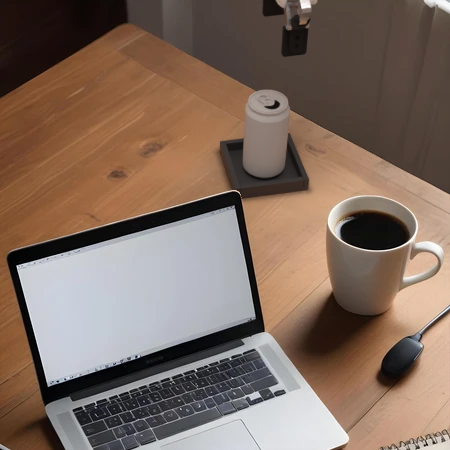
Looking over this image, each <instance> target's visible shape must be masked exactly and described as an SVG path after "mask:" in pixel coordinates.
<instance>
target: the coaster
mask: <svg viewBox="0 0 450 450" xmlns="http://www.w3.org/2000/svg"><path fill="white" fill-rule="evenodd" d="M243 145H244V137H243V138H235V139H234V138H233V139H226V140H219V154H220V157H221V160H222V163H223V166H224V169H225V172H226V175H227V179H228V182H229V185H230V188H231V191H232V190H237V191H239V192H240V194H241V197H242V199H249V198H257V197H265V196H272V195H281V194H286V193H295V192H302V191H308V190H309V183H310V177H309V175H308V173H307V171H306V168H305V165H304V163H303V161H302V159H301V156H300V154H299V152H298V148H297V146H296V144H295V142H294V139H293V137H292V135H291V133H290V132H288V138H287V149H286V159H285V167H284V169H283V171H282V172H281V173H280V174H278V175H276V176H274V177H272V178H258V177H255V176H253V175H251V174H249V173H248V172H247V171H246V170H245V169H244V167H243Z"/></svg>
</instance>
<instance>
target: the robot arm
mask: <svg viewBox="0 0 450 450" xmlns="http://www.w3.org/2000/svg"><path fill="white" fill-rule="evenodd" d="M317 3H318V0H294V1H289V0H262V7H261V8H262V9H261V11H262V12H261V14H262V16H263V17H265V18H266V17H275V16H284V23H285V25H282V32H281V46H280V48H281V49H280V54H281V55H282V57H283V58H288V57H294V56H304V55H306V53H307V49H308V41H309V40H308V39H309V28H310V26H311V25H310V24H311V23H310V22H311V14H312V6H315V5H316V4H317ZM291 9H297V11H296V12H297V14H294V15H293V16H292V12H291Z"/></svg>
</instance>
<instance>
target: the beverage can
mask: <svg viewBox="0 0 450 450" xmlns="http://www.w3.org/2000/svg"><path fill="white" fill-rule="evenodd" d="M290 116H291V107H290V104H289V100H288V97H287V96H286V95H285V94H283V93H282V92H280V91H278V90H275V89H259V90H256V91H254V92H253V93H251V94H250V95H249V97H248V100H247V102H246V104H245V107H244V123H243V124H244V126H243V138H244V145H243V167H244V169H245V170H246V171H247V172H248V173H249V174H251V175H253V176H255V177H258V178H272V177H274V176H276V175H278V174H280V173H281V172H282V171H283V169H284V167H285V159H286V149H287V138H288V133H289V126H290Z"/></svg>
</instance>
